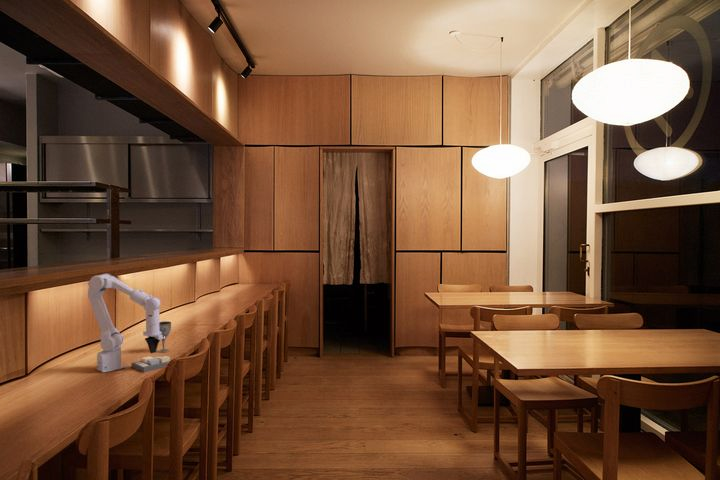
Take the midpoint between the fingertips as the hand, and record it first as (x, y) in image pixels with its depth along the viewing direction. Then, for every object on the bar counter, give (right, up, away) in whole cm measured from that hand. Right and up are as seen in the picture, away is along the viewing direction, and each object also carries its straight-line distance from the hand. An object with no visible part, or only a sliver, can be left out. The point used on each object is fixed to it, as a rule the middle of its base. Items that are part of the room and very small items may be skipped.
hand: (153, 352), depth 211 cm
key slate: (0, -5, 0) cm, 5 cm away
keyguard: (-1, -7, +3) cm, 8 cm away
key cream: (-4, -5, +3) cm, 7 cm away
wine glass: (-8, -7, +29) cm, 30 cm away
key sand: (+3, -5, +4) cm, 8 cm away
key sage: (-1, -6, +8) cm, 10 cm away
